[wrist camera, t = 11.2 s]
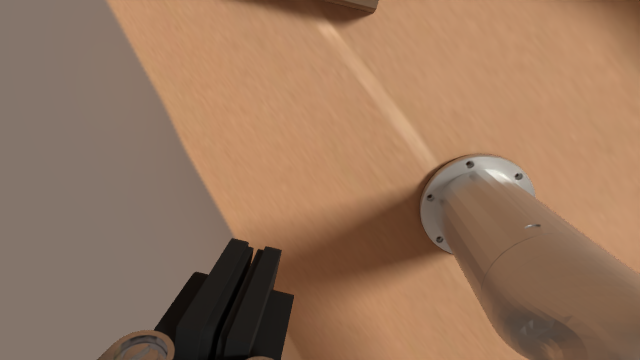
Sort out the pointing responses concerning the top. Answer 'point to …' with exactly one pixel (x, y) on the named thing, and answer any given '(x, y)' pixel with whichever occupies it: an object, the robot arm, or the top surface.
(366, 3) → the board
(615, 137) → the top surface
